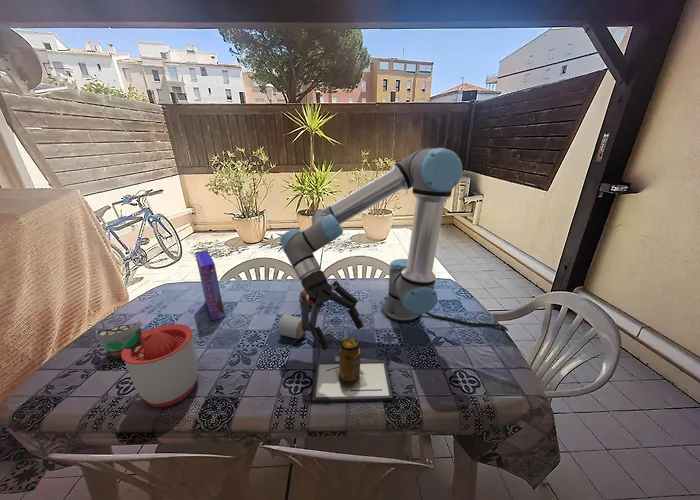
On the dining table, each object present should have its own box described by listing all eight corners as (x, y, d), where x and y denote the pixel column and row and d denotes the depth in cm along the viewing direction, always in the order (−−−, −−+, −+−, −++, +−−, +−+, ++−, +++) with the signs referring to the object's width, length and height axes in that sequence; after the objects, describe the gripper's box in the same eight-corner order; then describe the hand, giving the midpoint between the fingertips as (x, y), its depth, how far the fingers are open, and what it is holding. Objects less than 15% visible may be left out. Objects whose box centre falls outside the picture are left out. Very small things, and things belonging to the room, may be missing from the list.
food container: (98, 366, 86) (87, 341, 82) (104, 354, 91) (94, 329, 87) (145, 354, 91) (137, 329, 88) (148, 343, 96) (140, 319, 93)
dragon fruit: (298, 306, 121) (324, 309, 122) (296, 305, 113) (325, 308, 114) (300, 287, 124) (327, 290, 125) (299, 285, 115) (327, 288, 116)
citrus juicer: (159, 368, 85) (142, 314, 78) (214, 369, 84) (201, 315, 77) (118, 414, 70) (92, 352, 63) (183, 416, 70) (164, 353, 63)
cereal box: (224, 317, 111) (214, 263, 103) (212, 320, 109) (200, 266, 100) (217, 298, 125) (207, 250, 116) (205, 302, 122) (194, 252, 114)
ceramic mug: (298, 343, 96) (296, 325, 93) (277, 339, 98) (276, 321, 95) (311, 326, 105) (310, 309, 102) (292, 322, 107) (291, 305, 105)
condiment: (356, 364, 85) (356, 333, 81) (367, 385, 78) (367, 351, 74) (334, 370, 83) (333, 338, 79) (343, 392, 76) (342, 358, 72)
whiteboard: (385, 362, 87) (385, 360, 87) (392, 400, 74) (392, 397, 74) (316, 364, 87) (316, 361, 86) (312, 402, 73) (311, 399, 73)
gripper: (335, 269, 95) (366, 323, 90) (271, 294, 78) (304, 362, 73) (346, 259, 89) (379, 316, 84) (278, 283, 73) (315, 356, 68)
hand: (344, 338), depth 79 cm, fingers open, 13 cm apart
